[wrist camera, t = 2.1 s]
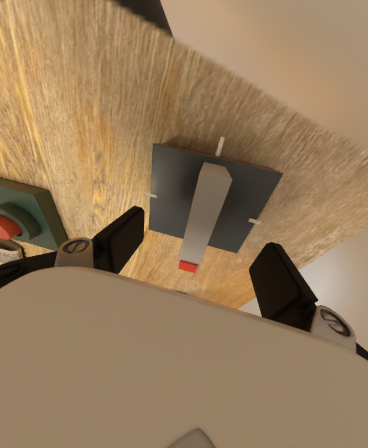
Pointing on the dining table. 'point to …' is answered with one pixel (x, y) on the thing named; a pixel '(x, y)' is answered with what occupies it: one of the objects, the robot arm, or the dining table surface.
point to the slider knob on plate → (203, 214)
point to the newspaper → (9, 251)
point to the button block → (32, 214)
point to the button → (8, 228)
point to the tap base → (186, 185)
